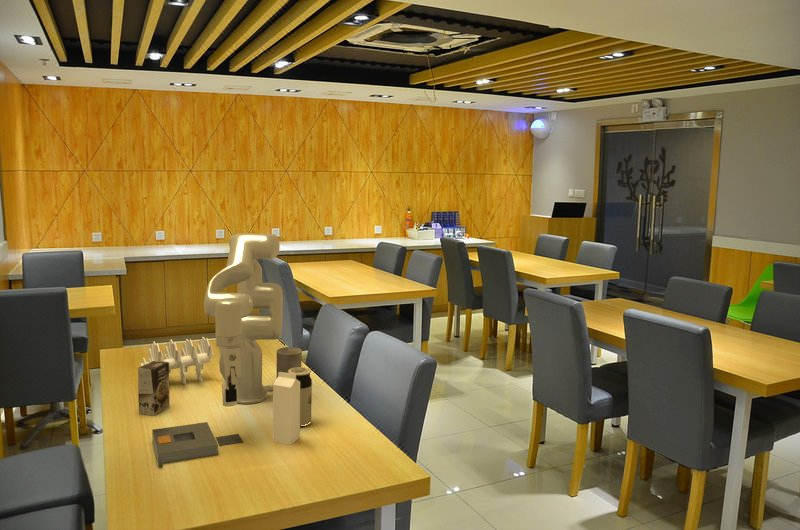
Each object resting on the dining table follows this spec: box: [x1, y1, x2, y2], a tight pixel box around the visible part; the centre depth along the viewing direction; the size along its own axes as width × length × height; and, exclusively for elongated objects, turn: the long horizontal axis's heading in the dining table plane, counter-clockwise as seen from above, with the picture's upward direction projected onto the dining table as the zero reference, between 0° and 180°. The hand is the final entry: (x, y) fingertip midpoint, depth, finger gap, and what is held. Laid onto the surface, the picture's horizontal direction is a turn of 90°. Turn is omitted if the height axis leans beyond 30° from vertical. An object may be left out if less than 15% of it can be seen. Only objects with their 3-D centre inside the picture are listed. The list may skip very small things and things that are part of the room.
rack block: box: [151, 421, 219, 468], centre depth 184 cm, size 16×18×4 cm
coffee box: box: [137, 361, 171, 417], centre depth 213 cm, size 9×6×16 cm
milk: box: [272, 372, 301, 446], centre depth 190 cm, size 6×6×22 cm
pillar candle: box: [275, 346, 303, 379], centre depth 244 cm, size 10×10×15 cm
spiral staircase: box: [139, 336, 215, 386], centre depth 239 cm, size 18×18×25 cm
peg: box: [221, 375, 237, 407], centre depth 188 cm, size 4×4×10 cm
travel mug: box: [288, 366, 313, 426], centre depth 205 cm, size 8×8×18 cm
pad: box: [214, 433, 244, 447], centre depth 190 cm, size 7×7×1 cm
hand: (229, 398), depth 188 cm, fingers closed on peg, 4 cm apart
